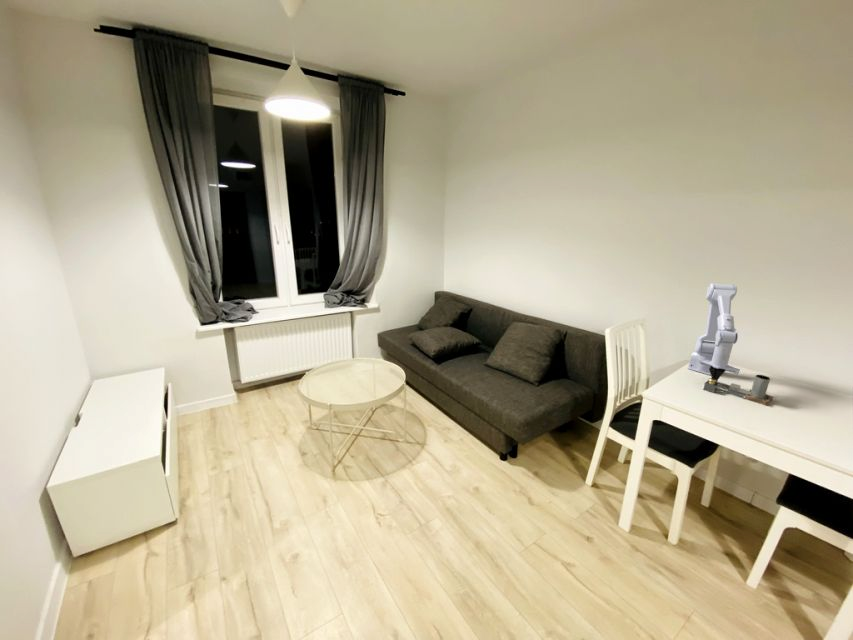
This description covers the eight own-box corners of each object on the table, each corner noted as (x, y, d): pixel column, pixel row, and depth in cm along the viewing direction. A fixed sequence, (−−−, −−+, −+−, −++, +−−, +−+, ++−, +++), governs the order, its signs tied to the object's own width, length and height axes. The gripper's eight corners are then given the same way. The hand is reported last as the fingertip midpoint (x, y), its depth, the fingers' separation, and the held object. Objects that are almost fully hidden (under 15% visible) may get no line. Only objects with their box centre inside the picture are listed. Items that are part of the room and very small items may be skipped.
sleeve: (704, 386, 162) (705, 384, 162) (710, 381, 167) (711, 379, 167) (743, 398, 152) (743, 396, 152) (748, 392, 156) (748, 391, 156)
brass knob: (705, 388, 159) (707, 379, 157) (707, 386, 160) (709, 377, 159) (712, 390, 157) (715, 381, 155) (715, 389, 158) (717, 379, 157)
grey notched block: (728, 391, 157) (729, 385, 157) (730, 389, 160) (732, 383, 159) (748, 398, 152) (750, 391, 151) (750, 395, 155) (752, 388, 154)
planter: (762, 398, 152) (769, 376, 149) (763, 402, 148) (771, 380, 145) (748, 395, 154) (755, 373, 151) (749, 399, 151) (756, 377, 148)
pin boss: (703, 389, 159) (705, 382, 158) (706, 386, 162) (708, 379, 161) (713, 393, 156) (715, 386, 155) (717, 389, 159) (718, 383, 158)
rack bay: (744, 398, 151) (745, 395, 151) (749, 392, 156) (750, 389, 156) (767, 405, 146) (768, 402, 145) (771, 399, 151) (773, 396, 150)
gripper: (699, 352, 162) (692, 379, 166) (739, 363, 151) (731, 391, 155) (704, 349, 166) (697, 375, 170) (744, 358, 155) (736, 386, 159)
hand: (714, 382), depth 163 cm, fingers closed
